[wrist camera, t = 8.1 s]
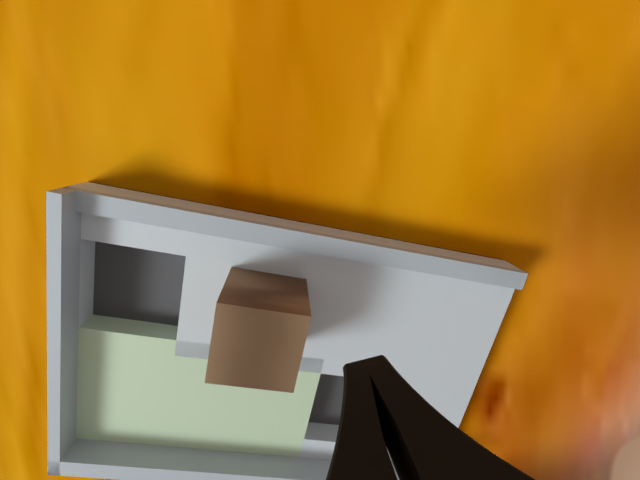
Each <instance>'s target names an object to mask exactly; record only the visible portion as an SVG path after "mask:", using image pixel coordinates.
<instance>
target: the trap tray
mask: <svg viewBox="0 0 640 480" xmlns="http://www.w3.org/2000/svg"><path fill="white" fill-rule="evenodd" d="M46 233H47V422H48V475H59V476H74V477H88V478H103V479H117V480H326V477H327V474H328V470H329V467H330V463H331V459H332V455H333V451H334V447H335V443H336V438H337V433H338V427H339V422H340V416H341V408H342V400H343V388H344V375H343V367H344V365H345V364H347V363H351V362H355V361H359V360H363V359H367V358H371V357H375V356H379V355H383V356H385V357H386V358H387V359H388V361H389V362H390V363H391V365H392V366H393V367H394V368H395V369H396V370H397V372H398V373H399V374H400V375H401V376H402V377H403V378H404V379H405V380H406V381H407V382H408V383H409V384H410V386H411V387H412V388H413V389H415V390H416V391H417V392H418V393H419V394H420V395H421V396H422V397H423V398H424V399H425V400H426V401H427V402H428V403H429V404H430V405H431V406H433V407H434V408H435V409H436V410H437V411H438V412H439V413H441V414H442V415H443V416H444V417H445V418H446V419H448V420H449V421H450V422H451V423H452V424H454V425H455V426H456V427H457V428H459V425H460V423H461V420H462V418H463V416H464V413H465V411H466V408H467V406H468V403H469V401H470V398H471V396H472V393H473V391H474V389H475V386H476V384H477V381H478V379H479V376H480V374H481V371H482V369H483V366H484V364H485V362H486V359H487V357H488V354H489V352H490V349H491V347H492V344H493V342H494V340H495V337H496V335H497V332H498V330H499V327H500V325H501V322H502V320H503V317H504V315H505V313H506V310H507V308H508V305H509V303H510V300H511V298H512V295H513V293H514V290H515V289H519V290H522V288H523V286H524V284H525V281H526V279H527V276H528V273H526V272H524V271H523V270H521V269H519V268H517V267H516V266H514V265H512V264H510V263H509V262H507V261H505V260H499V259H494V258H489V257H483V256H478V255H473V254H468V253H462V252H457V251H452V250H446V249H441V248H436V247H430V246H425V245H420V244H414V243H409V242H404V241H399V240H393V239H388V238H383V237H377V236H372V235H367V234H361V233H356V232H351V231H346V230H340V229H335V228H330V227H324V226H319V225H314V224H308V223H303V222H298V221H292V220H287V219H282V218H277V217H271V216H266V215H261V214H255V213H250V212H245V211H239V210H234V209H229V208H223V207H218V206H213V205H208V204H202V203H197V202H192V201H186V200H181V199H176V198H170V197H165V196H160V195H154V194H149V193H144V192H139V191H133V190H128V189H123V188H117V187H112V186H107V185H101V184H96V183H91V182H84V183H80V184H76V185H71V186H67V187H63V188H59V189H54V190H50V191H46ZM231 267H236V268H242V269H248V270H254V271H260V272H266V273H273V274H279V275H285V276H291V277H297V278H303V279H307V287H308V295H309V302H310V310H311V321H310V325H309V329H308V333H307V338H306V342H305V346H304V350H303V355H302V359H301V363H300V367H299V372H298V376H297V380H296V384H295V389H294V393H288V392H279V391H270V390H262V389H253V388H244V387H235V386H226V385H218V384H209V383H205V376H206V370H207V363H208V356H209V349H210V342H211V336H212V329H213V322H214V315H215V309H216V302H217V300H218V298H219V295H220V293H221V291H222V288H223V286H224V283H225V281H226V279H227V276H228V274H229V272H230V269H231ZM386 448H387V447H386ZM387 451H388V450H387ZM388 453H389V452H388ZM389 456H390V455H389ZM390 459H391V457H390ZM391 462H392V460H391ZM392 465H393V462H392ZM393 468H394V471H395V474H396V477H397V480H399V477H398V475H397V472H396V470H395V467H394V465H393Z"/></svg>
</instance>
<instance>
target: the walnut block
mask: <svg viewBox="0 0 640 480" xmlns="http://www.w3.org/2000/svg"><path fill="white" fill-rule="evenodd" d="M310 321H311V310H310V302H309V295H308V287H307V279H303V278H297V277H291V276H285V275H279V274H273V273H266V272H260V271H254V270H248V269H242V268H236V267H231V269H230V272H229V274H228V276H227V279H226V281H225V283H224V286H223V288H222V291H221V293H220V295H219V298H218V300H217V302H216V309H215V315H214V322H213V329H212V336H211V342H210V349H209V356H208V363H207V370H206V376H205V383H209V384H218V385H226V386H235V387H244V388H253V389H262V390H270V391H279V392H288V393H294V389H295V384H296V380H297V376H298V372H299V367H300V363H301V359H302V355H303V350H304V346H305V342H306V338H307V333H308V329H309V325H310Z"/></svg>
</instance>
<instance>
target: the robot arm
mask: <svg viewBox="0 0 640 480" xmlns="http://www.w3.org/2000/svg"><path fill="white" fill-rule="evenodd" d="M343 375H344V388H343V400H342V408H341V416H340V422H339V427H338V433H337V438H336V443H335V447H334V451H333V455H332V459H331V463H330V467H329V470H328V474H327V477H326V480H397V477H396V474H395V471H394V468H393V465H394V467H395V470H396V472H397V475H398V477H399V480H535V479H533V478H531V477H530V476H528V475H527V474H525V473H523V472H522V471H520V470H518V469H517V468H515V467H514V466H512V465H510V464H509V463H507V462H506V461H504V460H502V459H501V458H499V457H498V456H496V455H495V454H493V453H492V452H490V451H489V450H487V449H486V448H485V447H483V446H482V445H480V444H479V443H477V442H476V441H475V440H473V439H472V438H471V437H469V436H468V435H467V434H465V433H464V432H463V431H461V430H460V429H459V428H457V427H456V426H455V425H454V424H452V423H451V422H450V421H449V420H448V419H446V418H445V417H444V416H443V415H442V414H441V413H439V412H438V411H437V410H436V409H435V408H434V407H433V406H431V405H430V404H429V403H428V402H427V401H426V400H425V399H424V398H423V397H422V396H421V395H420V394H419V393H418V392H417V391H416V390H415V389H413V388H412V387H411V386H410V384H409V383H408V382H407V381H406V380H405V379H404V378H403V377H402V376H401V375H400V374H399V373H398V372H397V370H396V369H395V368H394V367H393V366H392V365H391V363H390V362H389V361H388V359H387V358H386V357H385V356H383V355H379V356H375V357H371V358H367V359H363V360H359V361H355V362H351V363H347V364H345V365H344V367H343ZM386 447H387V448H386ZM387 450H388V451H387ZM388 452H389V453H388ZM389 455H390V456H389ZM390 457H391V459H390ZM391 460H392V462H393V465H392V462H391Z"/></svg>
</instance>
